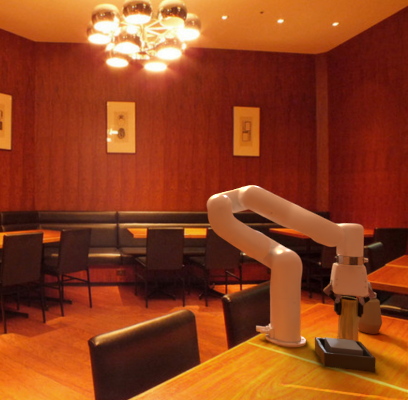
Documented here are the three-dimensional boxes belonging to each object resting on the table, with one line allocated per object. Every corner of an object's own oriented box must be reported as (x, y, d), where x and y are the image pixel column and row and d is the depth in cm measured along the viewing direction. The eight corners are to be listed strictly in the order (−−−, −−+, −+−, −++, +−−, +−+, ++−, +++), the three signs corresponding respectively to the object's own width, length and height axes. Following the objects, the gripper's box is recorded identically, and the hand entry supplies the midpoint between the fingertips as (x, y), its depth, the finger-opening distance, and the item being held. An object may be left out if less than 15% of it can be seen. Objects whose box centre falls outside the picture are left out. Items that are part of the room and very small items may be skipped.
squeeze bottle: (383, 337, 131) (383, 285, 131) (355, 333, 136) (355, 283, 136) (381, 330, 138) (381, 281, 138) (355, 326, 143) (354, 279, 142)
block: (331, 364, 110) (331, 347, 110) (324, 353, 117) (324, 337, 117) (363, 367, 107) (363, 350, 107) (354, 356, 115) (354, 340, 115)
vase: (363, 345, 122) (364, 301, 122) (344, 344, 122) (345, 300, 122) (351, 337, 128) (352, 296, 128) (333, 337, 128) (334, 295, 128)
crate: (324, 368, 108) (324, 352, 108) (314, 351, 120) (314, 337, 120) (375, 374, 104) (375, 358, 104) (360, 355, 116) (360, 341, 116)
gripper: (375, 260, 126) (374, 314, 126) (318, 257, 131) (316, 309, 131) (384, 264, 118) (383, 321, 119) (323, 260, 124) (322, 315, 124)
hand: (348, 314), depth 125 cm, fingers closed on vase, 5 cm apart
